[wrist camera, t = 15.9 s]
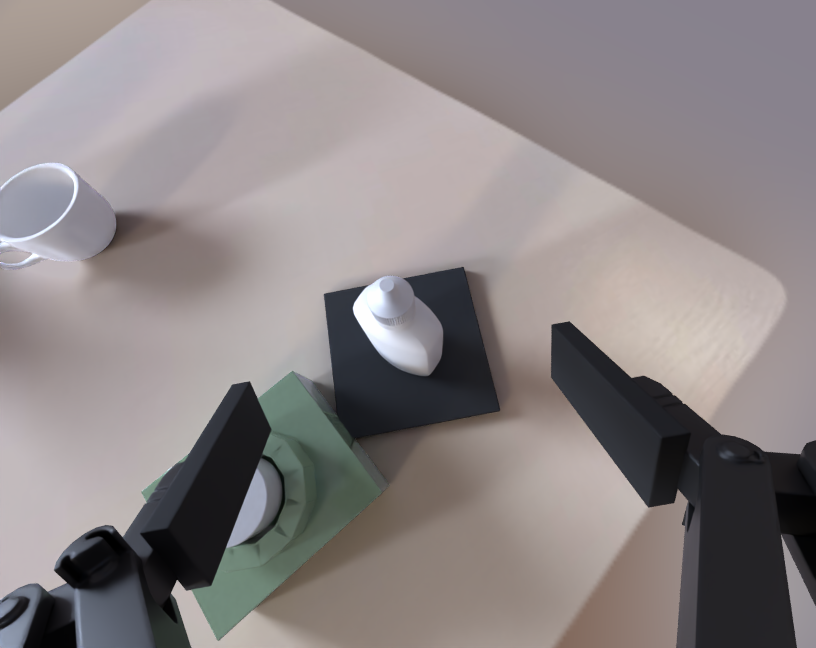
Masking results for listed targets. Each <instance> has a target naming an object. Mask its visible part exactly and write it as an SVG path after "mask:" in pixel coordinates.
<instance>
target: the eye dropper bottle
mask: <svg viewBox="0 0 816 648" xmlns="http://www.w3.org/2000/svg"><path fill="white" fill-rule="evenodd" d="M353 311H354V315H355V317H356V318H357V320H358V322H359V324H360V325H361V327H362V329H363V330H364V332H365V333H366V335H367V337H368V338H369V340H370V341H371V343H372V344H373V346H374V347H375V349H376V350H377V351H378V352H379V354H380V355H381V356H382V357H383V358H384V359H385V360H387V361H388V362H389V363H390V364H392V365H393V366H395V367H397V368H398V369H400V370H402V371H405V372H407V373H410V374H414V375H419V376H429V375H430V374H431V373H432V372H433V370H434V369H435V367H436V366H437V364H438V363H439V361H440V359H441V356H442V346H443V329H442V325H441V323H440V322H439V320H438V319H437V317H436V316H435V314H434V313H433V312H432V311H431V310H430V309H429V308H428V307H427V306H426V305H425V304H424V303H423V302H422V301H421V300H419V299H418V298H417V297H415V296H414V292H413V290H412V288H411V286H410V284H409V283H408V282H407V281H405V279H403V278H401V277H399V276H398V277H397V276H386V277H382V278H380V279H378V280H377V281H375V282H374V284H372V285H369V286H368V287H366V288H365V289H364V290H363V292H362V293H361V294H360V296H359V297H358V298H357V300H356V302H355V303H354V307H353Z"/></svg>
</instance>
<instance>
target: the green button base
mask: <svg viewBox="0 0 816 648" xmlns="http://www.w3.org/2000/svg"><path fill="white" fill-rule="evenodd" d="M258 401H259V403H260V405H261V407H262V409H263V412H264V414H265V416H266V418H267V420H268V422H269V425H270V427H271V429H272V430H271V432H270V435H269V438H268V440H267V443H266V445H265V448H264V451H263V453H262V456H261V458H263V459H265V460H267V461H268V462H270V463H271V464H272V465H273V466H274V467H275V469H276V470H277V472H278V474H279V476H280V479H281V482H282V502H281V506H280V508H279V511H278V513H277V515H276V517H275V519H274V520H273V521H272V523H271V524H270V525H269V526H268V527H267V528H266V529H265V530H264V531H262V532H261V533H259V534H258V535H256V536H254V537H252V538H250V539H248V540H246V541H244V542H242V543H240V544H238V545H236V546H233V547H230V548H226V549H225V552H224V554H223V557H222V560H221V562H220V565H219V567H218V570H217V573H216V575H215V578H214V580H213V583H212V586H209V587H203V588H198V589H192V592H193V594H194V596H195V598H196V600H197V602H198V604H199V605H200V607H201V609H202V611H203V613H204V615H205V617H206V619H207V621H208V623H209V625H210V627H211V629H212V631H213V633H214V635H215V637H216V639H217V640H218V641H219V640H220V639H221V638H222V637H224V636H225V635H226V634H227V633H228V632H229V631H230V630H231V629H232V628H233V627H235V626H236V625H237V624H238V623H239V622H240V621H241V620H242V619H243V618H244V617H246V616H247V615H248V614H249V613H250V612H251V611H252V610H253V609H254V608H256V607H257V606H258V605H259V604H260V603H261V602H262V601H263V600H264V599H265V598H267V597H268V596H269V595H270V594H271V593H272V592H273V591H274V590H275V589H277V588H278V587H279V586H280V585H281V584H282V583H283V582H284V581H285V580H286V579H288V578H289V577H290V576H291V575H292V574H293V573H294V572H295V571H296V570H297V569H299V568H300V567H301V566H302V565H303V564H304V563H305V562H306V561H307V560H309V559H310V558H311V557H312V556H313V555H314V554H315V553H316V552H317V551H318V550H320V549H321V548H322V547H323V546H324V545H325V544H326V543H327V542H328V541H330V540H331V539H332V538H333V537H334V536H335V535H336V534H337V533H338V532H339V531H341V530H342V529H343V528H344V527H345V526H346V525H347V524H348V523H349V522H350V521H352V520H353V519H354V518H355V517H356V516H357V515H358V514H359V513H360V512H362V511H363V510H364V509H365V508H366V507H367V506H368V505H369V504H370V503H371V502H373V501H374V500H375V499H376V498H377V497H378V496H379V495H380V494H381V493H382V492H383V491H385V490H386V489H387V488H388V487H389V486H390V485H389V483H388V482H387V481H386V479H385V478H384V477H383V475H382V474H381V473H380V471H379V470H378V469H377V467H376V466H375V465H374V463H373V462H372V461H371V459H370V458H369V457H368V455H367V454H366V453H365V451H364V450H363V449H362V447H361V446H360V445H359V443H358V442H357V441H356V439H354V438H353V437H352V436H351V435H350V433H349V432H348V431H347V429H346V428H345V427H344V425H343V424H342V423H341V421H340V420H339V419H338V416H337V414H336V413H335V411H334V410H333V409H332V407H331V406H330V405H329V403H328V402H327V401H326V399H325V398H324V397H323V395H322V394H321V393H320V391H319V390H318V389H317V387H316V386H315V385H314V383H313V382H312V381H311V380H310V379H308V378H306V377H304V376H302V375H300V374H298V373H296V372H294V371H292V372H290V373H289V374H288V375H287V376H285V377H284V378H283V379H282V380H280V381H279V382H278V383H277V384H275V385H274V386H273V387H272V388H270V389H269V390H268V391H267V392H265V393H264V394H263V395H262V396H260V397H259V398H258ZM188 455H189V454H188ZM188 455H187V456H188ZM187 456H185V457H184V458H183V459H182V460H180V461H179V462H178V463H180V462H184V461H185V460H186V458H187ZM170 469H171V468H170ZM170 469H169V470H170ZM169 470H168V471H169ZM168 471H167V472H168ZM167 472H165V473H164V474H163V475H162V476H160V477H159V478H158V479H157V480H155V481H154V482H153V483H152V484H151V485H149V486H148V487H147V488H146V489H144V490H143V491H142V494H143V496H144V498H145V500H146V502H147V500H148V498H149V497H150V495H151V494H152V492H154V491H155V490H154V489H155V488H156V486H157V485H158V483H159V482H160V480H161V479H162V477H163V476H164V475H165V474H166V473H167Z"/></svg>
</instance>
